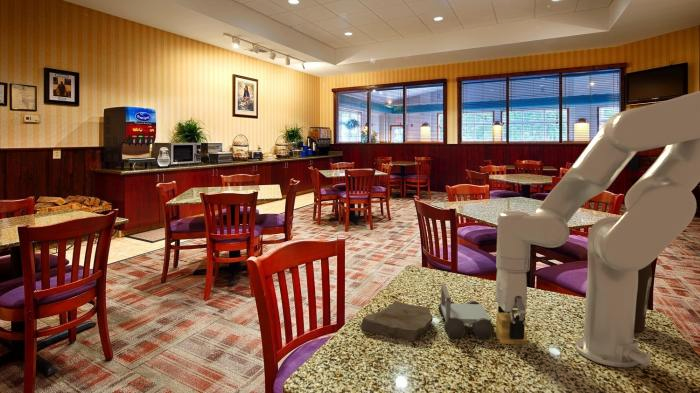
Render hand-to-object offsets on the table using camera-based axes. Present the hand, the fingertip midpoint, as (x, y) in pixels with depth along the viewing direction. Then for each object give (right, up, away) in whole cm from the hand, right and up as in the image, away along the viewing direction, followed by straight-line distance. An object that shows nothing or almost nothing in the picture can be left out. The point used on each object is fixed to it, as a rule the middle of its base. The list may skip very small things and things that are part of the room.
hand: (510, 329), depth 99 cm
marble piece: (-26, -2, +8) cm, 28 cm away
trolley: (-9, -2, +7) cm, 12 cm away
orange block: (0, -3, 0) cm, 3 cm away
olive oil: (+33, -2, +7) cm, 34 cm away
